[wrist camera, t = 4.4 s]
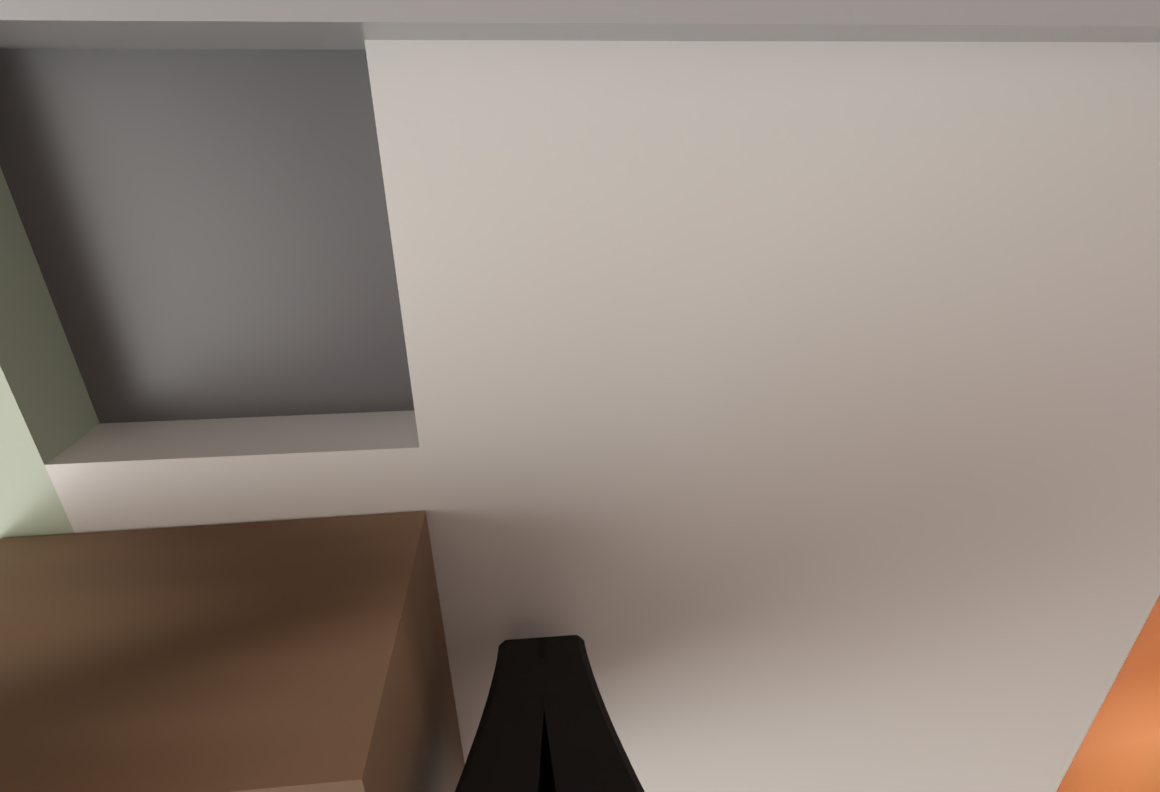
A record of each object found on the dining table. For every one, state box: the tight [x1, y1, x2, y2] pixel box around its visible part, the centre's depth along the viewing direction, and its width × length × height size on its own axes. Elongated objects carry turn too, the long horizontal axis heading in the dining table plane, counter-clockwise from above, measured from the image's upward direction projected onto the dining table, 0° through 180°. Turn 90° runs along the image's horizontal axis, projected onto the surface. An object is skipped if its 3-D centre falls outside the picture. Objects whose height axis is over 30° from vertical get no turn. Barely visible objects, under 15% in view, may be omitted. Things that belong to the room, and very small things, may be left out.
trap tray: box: [0, 0, 1160, 792], centre depth 10 cm, size 26×20×4 cm
